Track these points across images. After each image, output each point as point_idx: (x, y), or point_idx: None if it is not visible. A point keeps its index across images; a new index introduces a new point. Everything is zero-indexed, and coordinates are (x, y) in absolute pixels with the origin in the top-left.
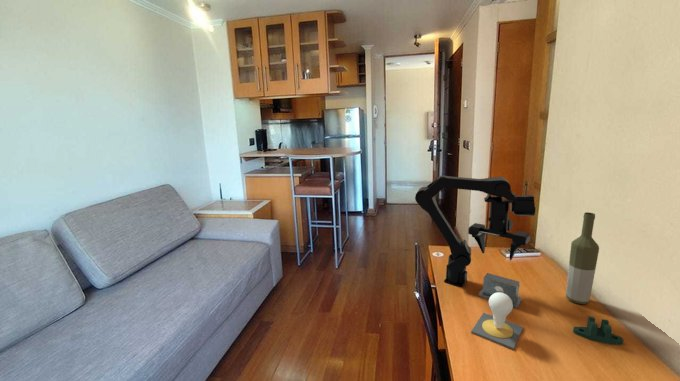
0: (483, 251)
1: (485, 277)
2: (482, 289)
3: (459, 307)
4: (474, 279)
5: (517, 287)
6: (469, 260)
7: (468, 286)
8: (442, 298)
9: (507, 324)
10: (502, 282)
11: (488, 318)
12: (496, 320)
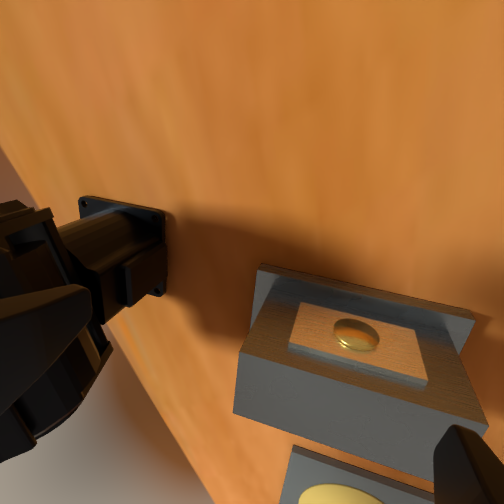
0: (68, 339)
1: (241, 412)
2: (255, 306)
3: (211, 422)
4: (193, 178)
5: None
6: (72, 406)
7: (191, 269)
8: (145, 386)
9: (381, 498)
10: (351, 450)
11: (313, 477)
12: None
